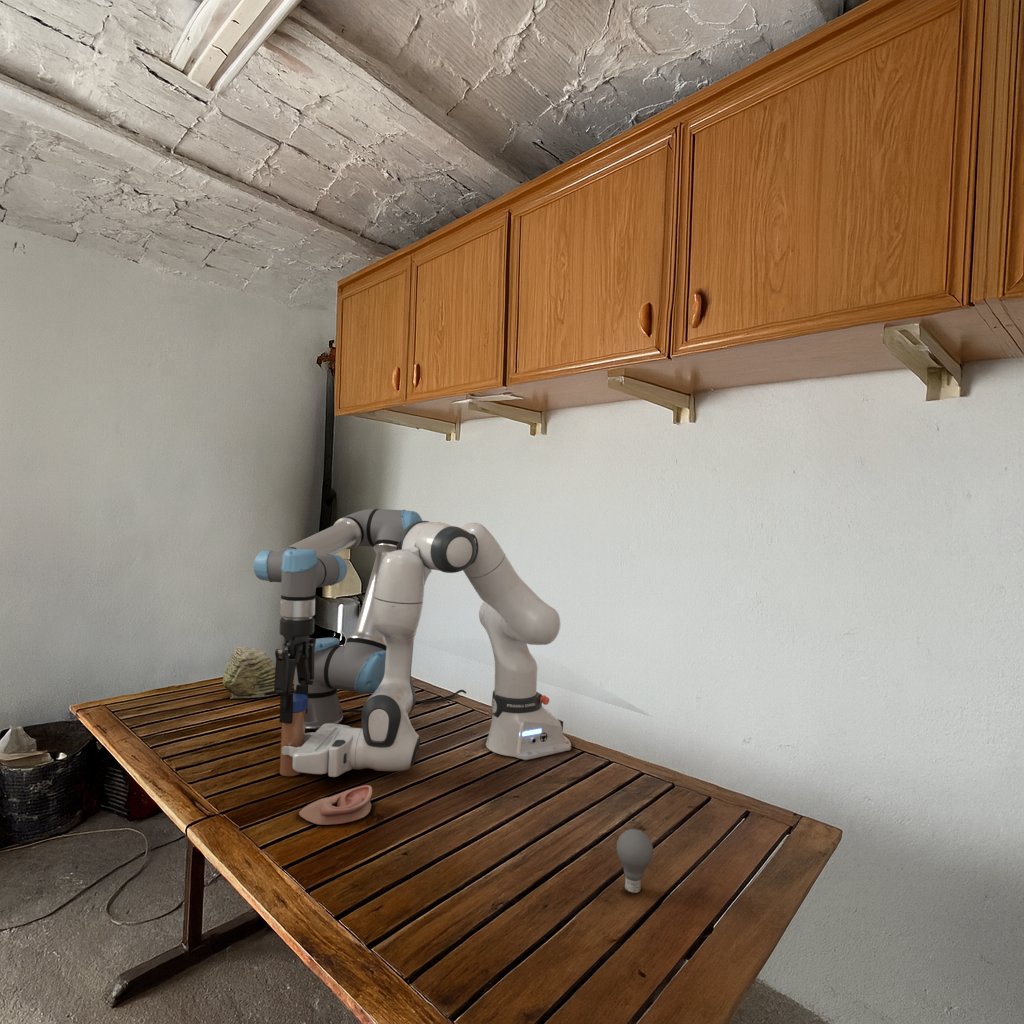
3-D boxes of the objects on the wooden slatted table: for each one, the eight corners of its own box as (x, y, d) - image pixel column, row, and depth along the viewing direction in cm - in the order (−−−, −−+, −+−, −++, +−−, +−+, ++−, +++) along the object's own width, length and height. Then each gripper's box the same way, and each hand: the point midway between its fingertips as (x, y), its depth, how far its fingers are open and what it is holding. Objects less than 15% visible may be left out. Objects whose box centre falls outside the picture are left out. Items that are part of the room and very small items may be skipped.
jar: (275, 771, 145) (277, 699, 145) (295, 764, 149) (298, 694, 149) (287, 778, 142) (289, 704, 141) (307, 771, 145) (310, 700, 145)
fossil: (218, 695, 195) (220, 647, 195) (278, 685, 208) (279, 640, 207) (228, 703, 189) (230, 653, 188) (289, 692, 201) (290, 645, 201)
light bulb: (610, 879, 108) (613, 822, 108) (644, 879, 109) (647, 822, 109) (619, 902, 102) (622, 840, 102) (655, 901, 103) (658, 840, 103)
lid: (275, 708, 145) (275, 697, 145) (299, 702, 149) (299, 692, 149) (288, 714, 141) (289, 703, 141) (312, 708, 145) (313, 698, 145)
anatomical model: (291, 800, 123) (320, 775, 134) (290, 820, 123) (320, 794, 134) (354, 810, 120) (379, 784, 132) (353, 830, 121) (378, 803, 132)
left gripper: (304, 609, 155) (300, 703, 155) (258, 623, 136) (254, 730, 137) (332, 611, 153) (328, 706, 153) (289, 626, 135) (285, 734, 135)
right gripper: (361, 718, 155) (306, 715, 155) (334, 751, 134) (270, 747, 135) (360, 744, 155) (305, 740, 156) (332, 780, 134) (269, 776, 135)
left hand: (293, 717), depth 145 cm, fingers closed on lid, 6 cm apart
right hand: (288, 743), depth 145 cm, fingers closed on jar, 5 cm apart
